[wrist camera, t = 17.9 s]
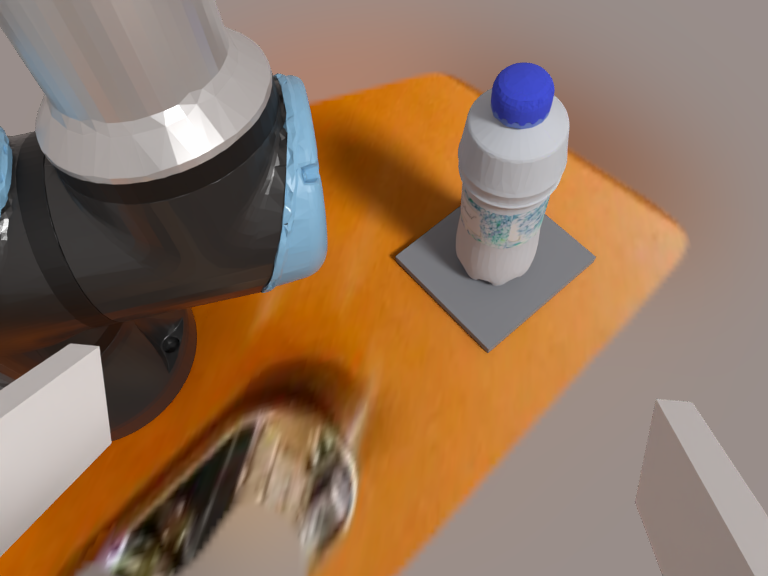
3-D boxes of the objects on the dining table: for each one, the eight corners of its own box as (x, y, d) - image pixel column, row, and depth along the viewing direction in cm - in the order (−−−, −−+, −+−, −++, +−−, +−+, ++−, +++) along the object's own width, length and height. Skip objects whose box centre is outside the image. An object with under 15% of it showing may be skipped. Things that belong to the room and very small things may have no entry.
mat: (395, 260, 53) (395, 256, 52) (498, 181, 55) (499, 175, 55) (487, 353, 48) (488, 349, 48) (593, 261, 51) (595, 256, 51)
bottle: (449, 225, 53) (457, 37, 35) (529, 220, 52) (578, 27, 35) (455, 297, 50) (468, 131, 32) (540, 292, 50) (601, 122, 32)
